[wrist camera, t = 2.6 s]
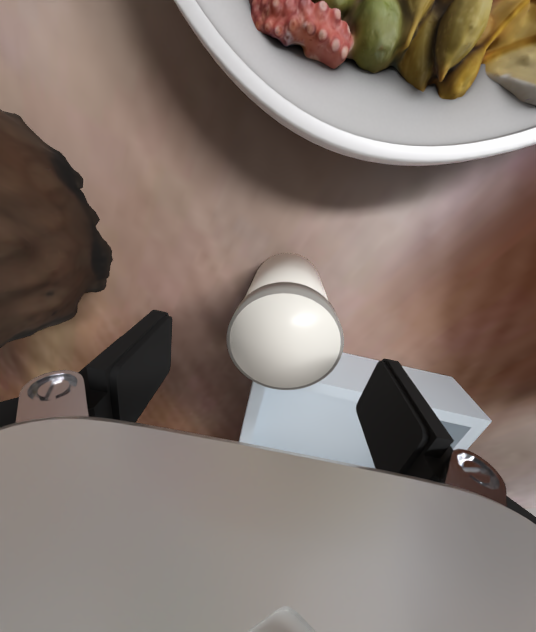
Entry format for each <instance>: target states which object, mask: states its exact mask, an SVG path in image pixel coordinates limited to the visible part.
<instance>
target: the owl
mask: <svg viewBox="0 0 536 632" xmlns="http://www.w3.org/2000/svg"><path fill="white" fill-rule="evenodd" d="M79 188H83V178H82V177H81V176H80V174H79V173H78V172H76V171H75V170H74V169H73V168H72V167H71V166H70V164H69V163H68V162H67V160H66V158H65V157H64V156H63V155H62V154H61V153H60V152H59V151H57V150H55V149H53V148H52V147H50V146H49V145H47V144H46V143H45V142H43V141H42V140H41V139H40V138H39V137H38V136H37V135H36V134H35V133H34V132H33V131H32V130H31V129H30V128H29V127H28V126H27V125H26V124H25V123H24V121H23V120H22V118H21V117H20V116H18V115H17V114H12V113H8V112H4V111H2V110H0V348H1V347H2V346H3V345H5V344H6V343H7V342H10V341H13V340H16V339H20V338H24V337H27V336H30V335H32V334H34V333H35V332H37V331H39V330H42V329H44V328H47V327H49V326H53V325H57V324H60V323H62V322H65V321H67V320H69V319H71V318H73V317H74V316H75V314H76V313H77V305H78V302H79V300H80V299H81V297H82V295H83V294H84V293H86V292H99V291H102V290H104V289H105V287H106V281H107V280H106V279H107V278H108V277H109V271H110V265H111V262H112V260H113V259H112V251H111V248H110V247H109V245H108V244H107V242H106V241H105V240H104V239H103V238H102V237H101V235H100V234H99V232H98V231H97V229H96V224H97V223H98V221H99V220H100V219H99V217H98V216H97V214H96V212H95V211H94V210H93V209H92V208H91V207H90V206H89V204H88V203H87V201H86V198H85V196H84V193H83V192H82V191H81V190H80V189H79Z"/></svg>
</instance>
